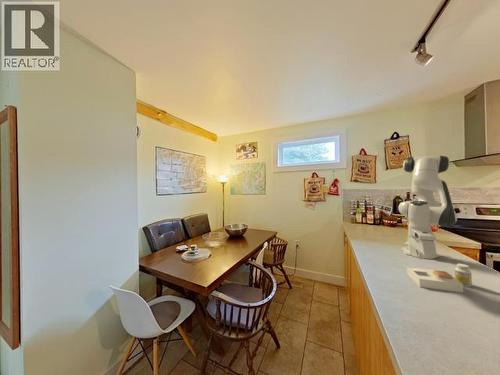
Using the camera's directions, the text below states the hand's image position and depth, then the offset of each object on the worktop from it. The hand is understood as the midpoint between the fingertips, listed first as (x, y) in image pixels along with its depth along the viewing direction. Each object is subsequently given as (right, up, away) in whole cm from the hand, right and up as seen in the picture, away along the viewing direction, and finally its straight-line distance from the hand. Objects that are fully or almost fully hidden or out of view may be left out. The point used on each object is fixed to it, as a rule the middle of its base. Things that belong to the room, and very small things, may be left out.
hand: (419, 258), depth 97 cm
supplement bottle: (+17, -11, -5) cm, 21 cm away
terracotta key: (+8, -9, -4) cm, 13 cm away
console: (+4, -12, -2) cm, 13 cm away
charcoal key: (+1, -11, -1) cm, 11 cm away
